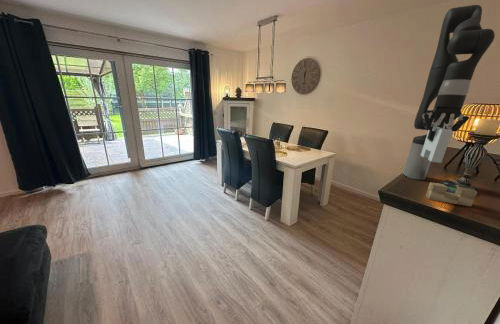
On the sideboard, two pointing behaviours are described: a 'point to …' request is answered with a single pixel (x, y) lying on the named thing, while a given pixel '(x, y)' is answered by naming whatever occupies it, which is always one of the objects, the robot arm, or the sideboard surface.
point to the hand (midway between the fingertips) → (436, 141)
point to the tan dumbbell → (451, 194)
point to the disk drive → (451, 186)
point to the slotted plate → (436, 145)
